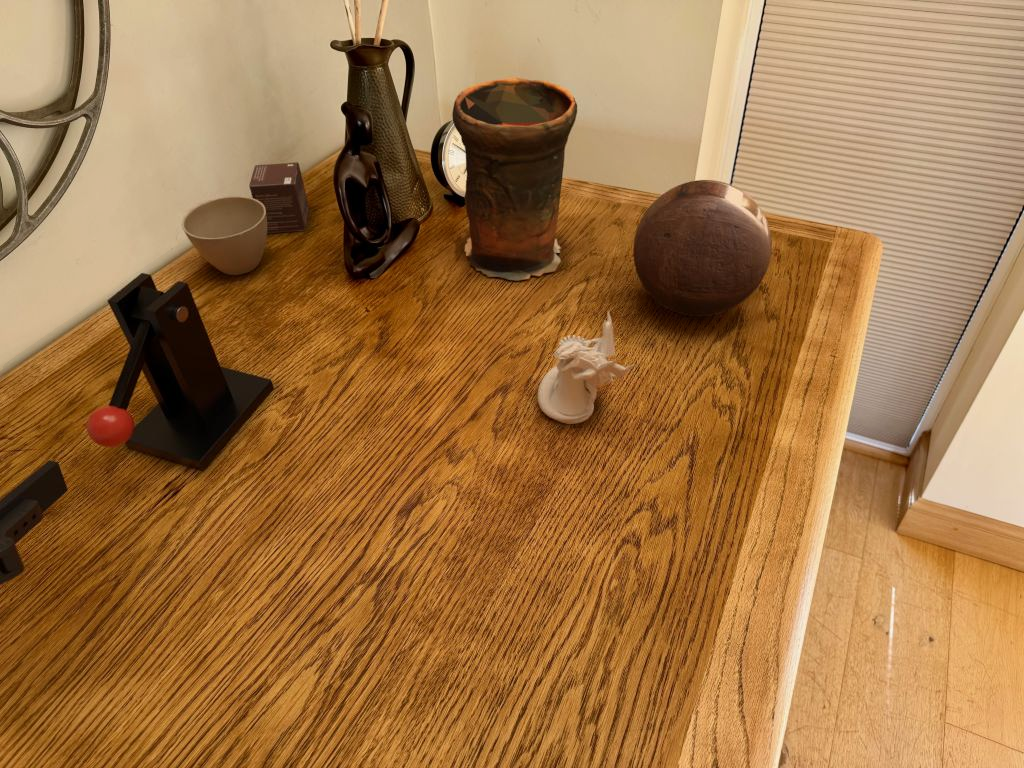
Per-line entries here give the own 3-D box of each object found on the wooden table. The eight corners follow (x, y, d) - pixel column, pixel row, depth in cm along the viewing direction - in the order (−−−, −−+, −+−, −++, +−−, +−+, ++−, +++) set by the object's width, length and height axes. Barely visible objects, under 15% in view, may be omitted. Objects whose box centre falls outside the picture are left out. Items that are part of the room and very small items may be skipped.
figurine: (523, 399, 75) (522, 307, 67) (582, 371, 78) (588, 279, 70) (587, 465, 69) (595, 372, 60) (649, 431, 72) (664, 338, 63)
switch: (134, 454, 64) (104, 448, 60) (102, 444, 65) (70, 438, 61) (189, 303, 66) (163, 290, 63) (157, 296, 67) (130, 282, 63)
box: (267, 212, 104) (254, 164, 99) (310, 209, 104) (299, 161, 99) (261, 234, 99) (247, 185, 94) (306, 231, 100) (294, 182, 95)
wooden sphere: (768, 343, 81) (803, 225, 71) (634, 343, 81) (649, 226, 71) (741, 266, 92) (767, 155, 82) (622, 267, 92) (634, 156, 82)
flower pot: (185, 266, 94) (166, 217, 89) (252, 235, 99) (237, 187, 94) (226, 297, 89) (208, 247, 84) (294, 262, 94) (281, 213, 89)
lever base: (203, 471, 69) (142, 344, 58) (127, 448, 71) (54, 321, 60) (274, 388, 77) (232, 263, 66) (204, 370, 79) (152, 246, 68)
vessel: (579, 227, 99) (587, 79, 86) (560, 288, 89) (565, 131, 75) (477, 216, 102) (469, 71, 88) (448, 274, 92) (434, 120, 78)
